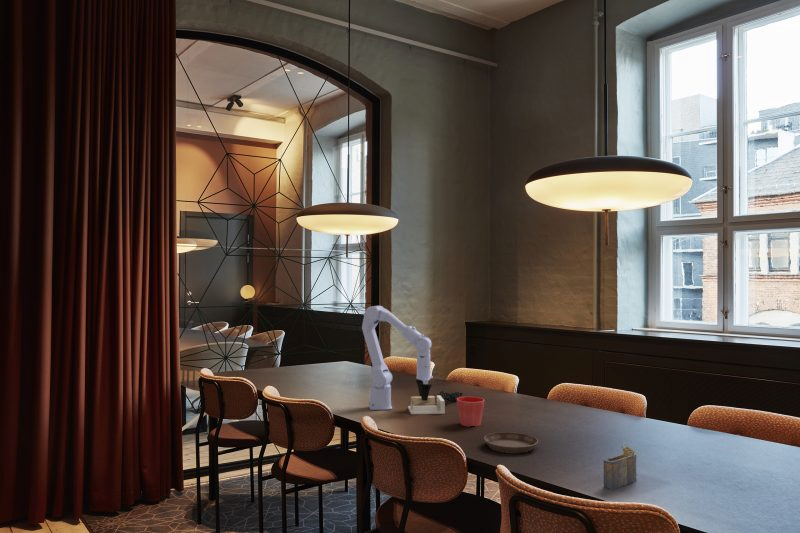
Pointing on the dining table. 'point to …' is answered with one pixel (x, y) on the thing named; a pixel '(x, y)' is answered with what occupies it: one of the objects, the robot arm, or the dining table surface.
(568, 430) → the dining table surface
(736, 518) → the dining table surface
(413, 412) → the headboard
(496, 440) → the plant saucer
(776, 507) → the dining table surface
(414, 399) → the tan block
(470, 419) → the flower pot
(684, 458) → the dining table surface
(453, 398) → the decorative element
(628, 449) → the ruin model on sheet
